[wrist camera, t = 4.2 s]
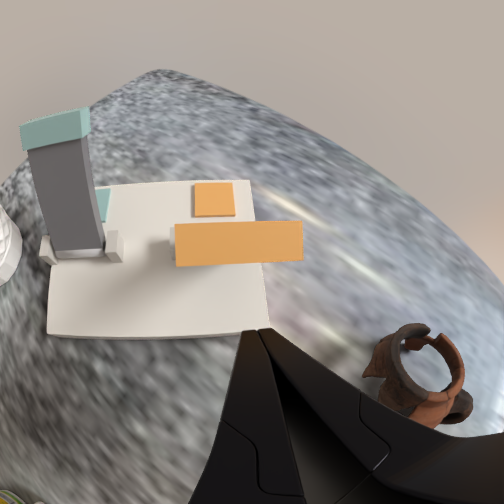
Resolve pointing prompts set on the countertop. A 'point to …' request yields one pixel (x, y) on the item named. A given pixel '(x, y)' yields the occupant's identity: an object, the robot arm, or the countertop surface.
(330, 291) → the countertop surface
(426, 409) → the pottery mug
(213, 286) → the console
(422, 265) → the countertop surface
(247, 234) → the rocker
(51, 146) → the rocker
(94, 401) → the countertop surface
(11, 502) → the supplement bottle
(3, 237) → the white cup
